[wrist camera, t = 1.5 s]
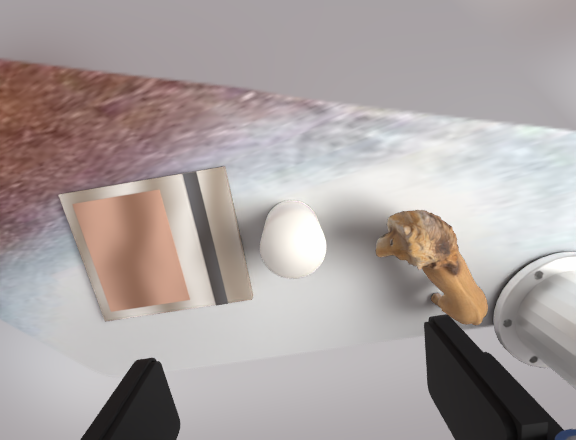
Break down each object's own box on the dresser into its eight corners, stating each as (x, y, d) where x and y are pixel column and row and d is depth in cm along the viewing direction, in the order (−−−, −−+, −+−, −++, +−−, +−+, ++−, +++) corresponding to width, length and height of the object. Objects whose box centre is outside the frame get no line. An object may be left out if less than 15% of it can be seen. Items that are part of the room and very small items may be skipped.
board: (225, 166, 26) (222, 167, 25) (253, 295, 30) (252, 299, 29) (64, 193, 27) (57, 195, 26) (109, 316, 30) (104, 322, 29)
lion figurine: (348, 221, 28) (375, 257, 19) (390, 180, 27) (440, 198, 18) (445, 316, 30) (509, 386, 22) (488, 282, 29) (572, 341, 21)
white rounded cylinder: (314, 196, 27) (321, 210, 21) (321, 246, 28) (330, 273, 23) (261, 204, 27) (253, 221, 21) (270, 254, 29) (266, 283, 23)
